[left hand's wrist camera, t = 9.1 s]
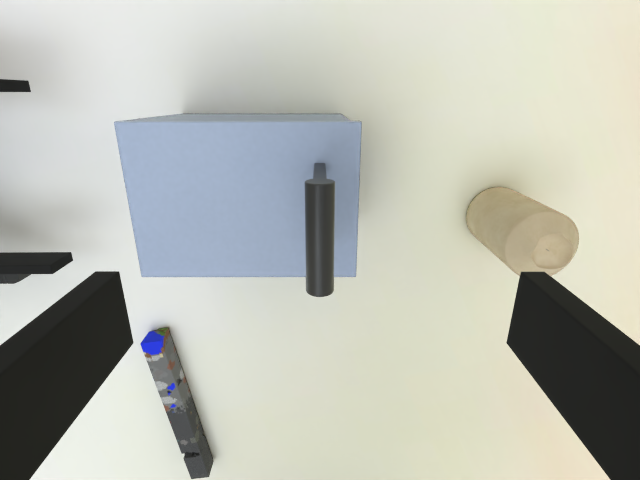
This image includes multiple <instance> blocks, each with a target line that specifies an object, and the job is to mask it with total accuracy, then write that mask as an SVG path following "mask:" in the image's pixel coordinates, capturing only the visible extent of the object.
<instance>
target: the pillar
mask: <svg viewBox="0 0 640 480" xmlns="http://www.w3.org/2000/svg"><path fill="white" fill-rule="evenodd" d="M141 346H142V349H143V352H144V354H145V357H146V360H147V362H148V365H149V368H150V370H151V373H152V376H153V378H154V381H155V384H156V386H157V389H158V392H159V394H160V397H161V400H162V402H163V405H164V408H165V410H166V413H167V416H168V418H169V421H170V423H171V426H172V429H173V431H174V434H175V437H176V439H177V442H178V445H179V447H180V450H181V453H185V456H184V461H185V463H186V466H187V469H188V471H189V474H190V477H191V479H195V478H204V477H209V475H210V471H211V468H212V464H213V458H212V455H211V452H210V449H209V446H208V443H207V440H206V438H205V436H204V435H202V434H203V429H202V426H201V423H200V420H199V417H198V414H197V411H196V408H195V405H194V402H193V399H192V396H191V394H190V391H189V388H188V385H187V382H186V379H185V376H184V373H183V370H182V367H181V364H180V361H179V358H178V355H177V352H176V350H175V347H174V344H173V341H172V338H171V335H170V332H169V329H168V328H162V329H158V330H156V331H151V332H149V333H148V334H147V335H146V337H145V338H144V340H143V341H142V342H141Z"/></svg>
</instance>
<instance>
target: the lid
mask: <svg viewBox="0 0 640 480" xmlns="http://www.w3.org/2000/svg"><path fill="white" fill-rule="evenodd" d="M114 125H115V130H116V136H117V141H118V147H119V153H120V158H121V164H122V169H123V175H124V180H125V186H126V192H127V197H128V203H129V208H130V214H131V219H132V225H133V231H134V236H135V242H136V247H137V253H138V259H139V264H140V270H141V275H142V277H306V291H307V293H308V294H310V295H312V296H316V297H324V296H328V295H330V294H332V293H333V291H334V277H356V263H357V235H358V207H359V180H360V152H361V125H362V123H361V121H116V122H114Z"/></svg>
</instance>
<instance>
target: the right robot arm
mask: <svg viewBox="0 0 640 480" xmlns="http://www.w3.org/2000/svg"><path fill="white" fill-rule="evenodd" d="M0 92H31V90H30V86H29V82H28V81H22V80H4V79H0ZM71 261H73V258H72V254H71V252H43V253H0V284H2V283H3V284H7V283H8V284H13V283H17V282H19V281H21V280H23V279H24V278H26V277H27V276H29V275H31V274H53V273H55V272H56V271H58V270H59V269H61V268H62V267H64V266H65V265H67V264H68V263H70V262H71Z"/></svg>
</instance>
